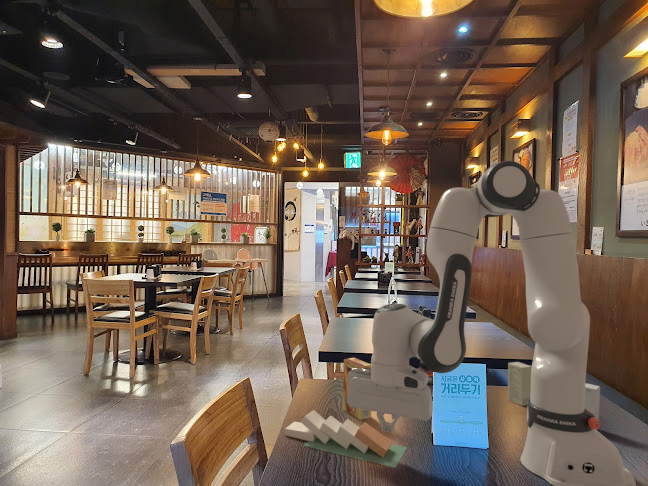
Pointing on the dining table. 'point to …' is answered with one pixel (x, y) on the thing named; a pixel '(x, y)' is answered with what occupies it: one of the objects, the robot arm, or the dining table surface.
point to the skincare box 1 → (519, 383)
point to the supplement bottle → (428, 372)
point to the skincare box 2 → (592, 399)
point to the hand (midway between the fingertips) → (387, 431)
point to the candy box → (348, 366)
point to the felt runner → (389, 459)
